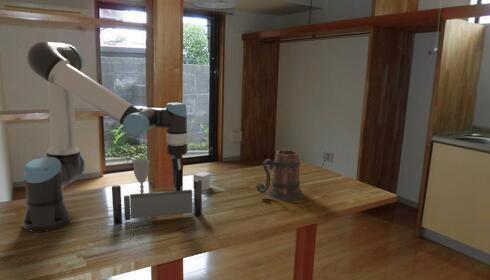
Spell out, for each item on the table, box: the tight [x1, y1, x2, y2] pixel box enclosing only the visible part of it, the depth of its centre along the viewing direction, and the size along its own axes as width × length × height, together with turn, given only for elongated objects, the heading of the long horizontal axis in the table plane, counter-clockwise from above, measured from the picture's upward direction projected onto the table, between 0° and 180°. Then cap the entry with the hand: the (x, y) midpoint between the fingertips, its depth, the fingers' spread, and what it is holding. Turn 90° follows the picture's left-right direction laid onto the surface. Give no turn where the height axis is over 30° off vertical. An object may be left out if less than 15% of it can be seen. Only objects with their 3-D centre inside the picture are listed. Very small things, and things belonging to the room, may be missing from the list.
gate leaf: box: [123, 189, 193, 221], centre depth 138 cm, size 25×2×10 cm, turn 107°
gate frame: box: [111, 180, 203, 225], centre depth 138 cm, size 33×3×14 cm, turn 108°
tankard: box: [256, 149, 304, 201], centre depth 166 cm, size 24×17×20 cm
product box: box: [192, 171, 212, 192], centre depth 173 cm, size 6×6×7 cm
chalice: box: [132, 158, 150, 194], centre depth 153 cm, size 7×7×18 cm
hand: (177, 201), depth 143 cm, fingers closed
